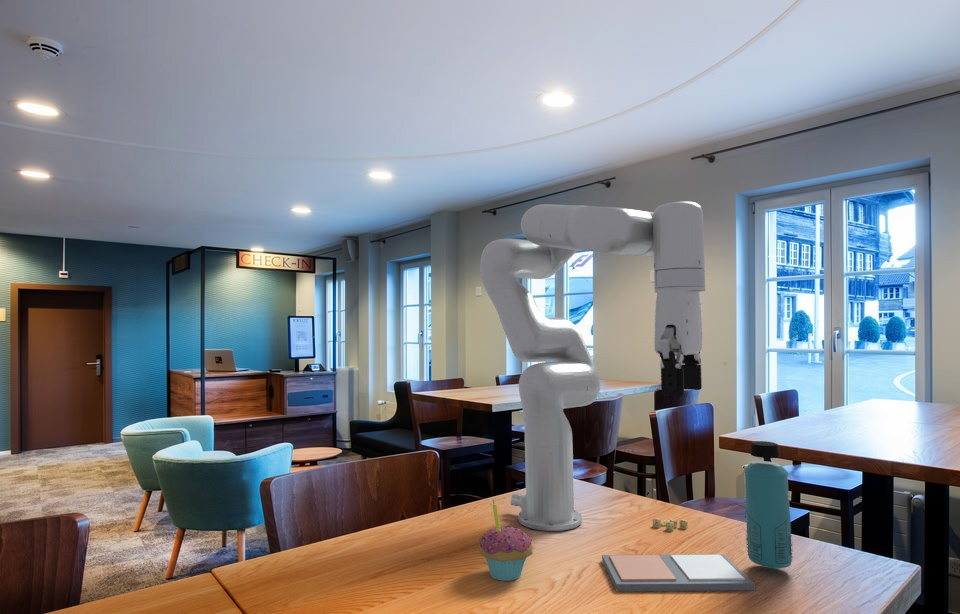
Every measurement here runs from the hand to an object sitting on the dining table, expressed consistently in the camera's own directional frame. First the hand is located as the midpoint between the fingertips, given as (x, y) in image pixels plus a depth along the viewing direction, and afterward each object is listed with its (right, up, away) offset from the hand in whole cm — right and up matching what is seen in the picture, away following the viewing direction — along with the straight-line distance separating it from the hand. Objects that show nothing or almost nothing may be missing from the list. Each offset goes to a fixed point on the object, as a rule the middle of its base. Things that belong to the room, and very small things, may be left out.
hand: (682, 392), depth 90 cm
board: (-1, -28, 0) cm, 28 cm away
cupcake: (-27, -29, +1) cm, 40 cm away
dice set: (+5, -30, +21) cm, 37 cm away
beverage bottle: (+14, -28, +1) cm, 32 cm away
